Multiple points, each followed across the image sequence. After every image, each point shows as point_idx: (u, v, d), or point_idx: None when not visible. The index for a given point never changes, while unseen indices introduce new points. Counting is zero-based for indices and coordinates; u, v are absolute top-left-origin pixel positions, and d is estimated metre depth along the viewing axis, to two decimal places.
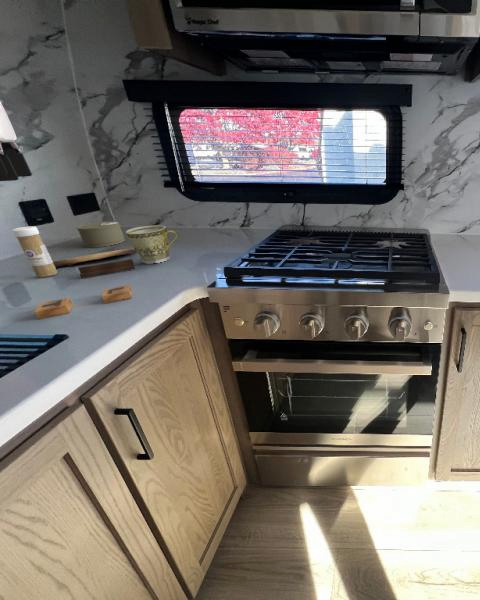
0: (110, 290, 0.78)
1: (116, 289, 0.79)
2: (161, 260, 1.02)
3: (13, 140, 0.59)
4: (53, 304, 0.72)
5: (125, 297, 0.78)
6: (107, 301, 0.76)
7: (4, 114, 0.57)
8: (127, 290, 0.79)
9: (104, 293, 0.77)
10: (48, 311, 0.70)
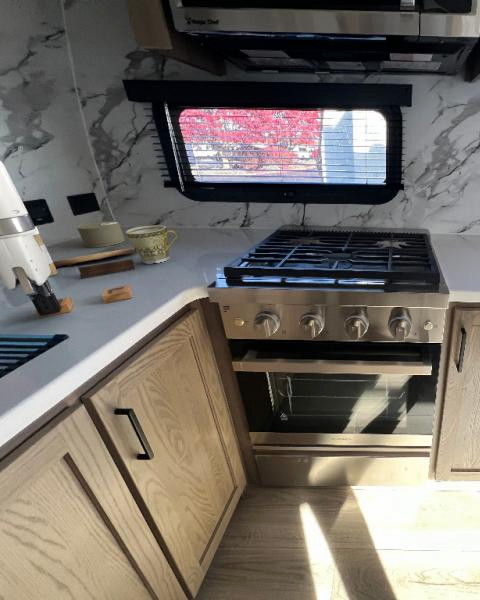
0: (110, 290, 0.78)
1: (116, 289, 0.79)
2: (161, 260, 1.02)
3: (48, 275, 0.69)
4: None
5: (125, 297, 0.78)
6: (107, 301, 0.76)
7: (42, 258, 0.67)
8: (127, 290, 0.79)
9: (104, 293, 0.77)
10: None
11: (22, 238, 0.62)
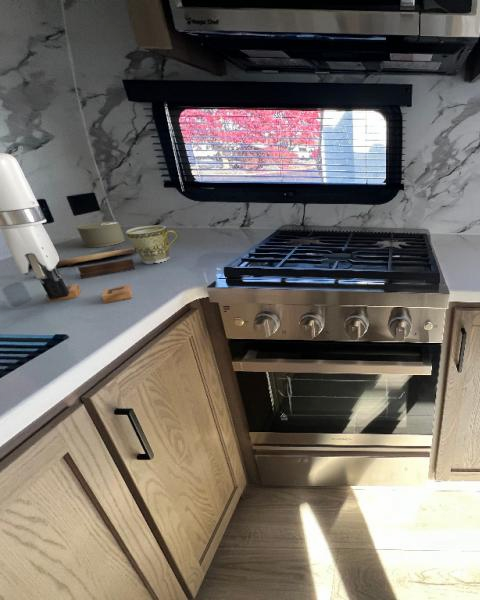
0: (110, 290, 0.78)
1: (116, 289, 0.79)
2: (161, 260, 1.02)
3: (57, 262, 0.76)
4: None
5: (125, 297, 0.78)
6: (107, 301, 0.76)
7: (51, 246, 0.74)
8: (127, 290, 0.79)
9: (104, 293, 0.77)
10: None
11: (34, 228, 0.69)
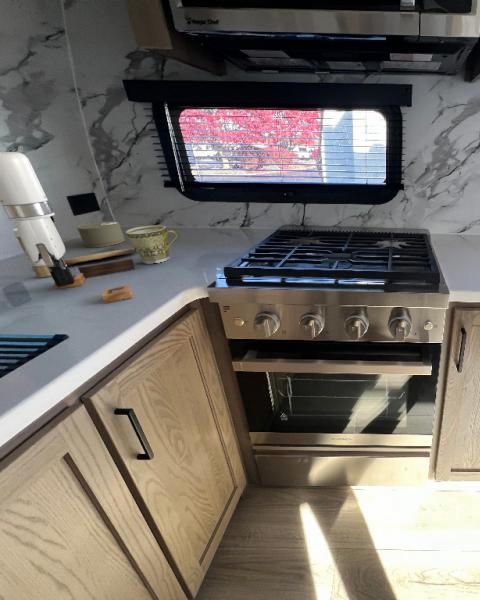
0: (110, 290, 0.78)
1: (116, 289, 0.79)
2: (161, 260, 1.02)
3: None
4: None
5: (125, 297, 0.78)
6: (107, 301, 0.76)
7: (58, 237, 0.81)
8: (127, 290, 0.79)
9: (104, 293, 0.77)
10: None
11: (44, 220, 0.76)
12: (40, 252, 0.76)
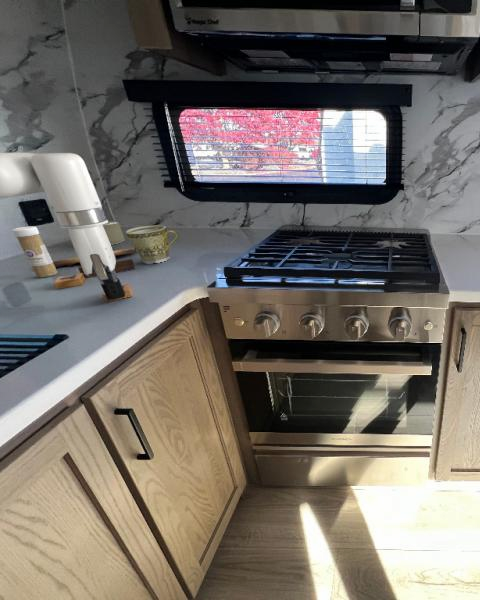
0: None
1: None
2: (161, 260, 1.02)
3: (115, 263, 0.76)
4: (69, 277, 0.86)
5: (125, 296, 0.79)
6: (107, 299, 0.77)
7: (111, 247, 0.74)
8: (127, 289, 0.79)
9: None
10: (65, 282, 0.85)
11: (98, 228, 0.68)
12: (94, 263, 0.69)
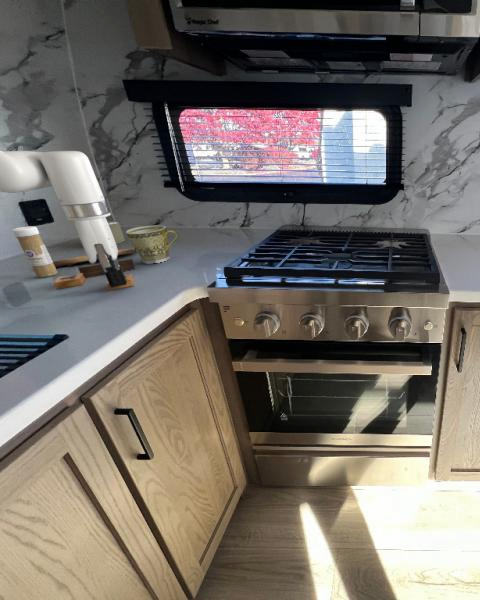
0: None
1: None
2: (161, 260, 1.02)
3: (117, 253, 0.82)
4: (69, 277, 0.86)
5: (127, 285, 0.85)
6: (111, 288, 0.83)
7: (113, 238, 0.80)
8: (129, 278, 0.85)
9: None
10: (65, 282, 0.85)
11: (102, 220, 0.75)
12: (98, 252, 0.75)
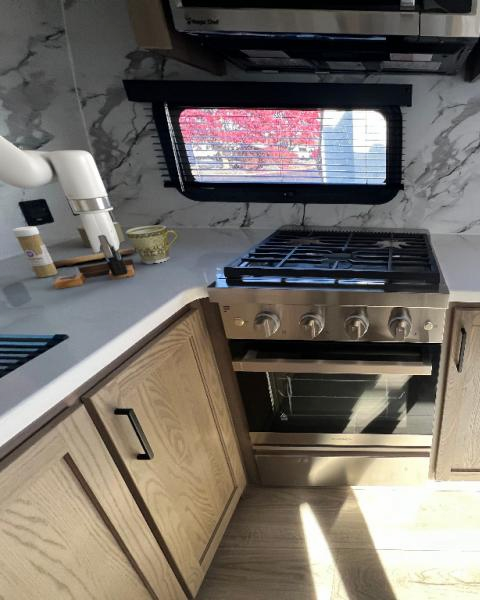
0: None
1: None
2: (161, 260, 1.02)
3: None
4: (69, 277, 0.86)
5: (128, 274, 0.91)
6: (113, 277, 0.90)
7: (115, 230, 0.87)
8: (130, 269, 0.92)
9: None
10: (65, 282, 0.85)
11: (105, 214, 0.81)
12: (101, 243, 0.82)
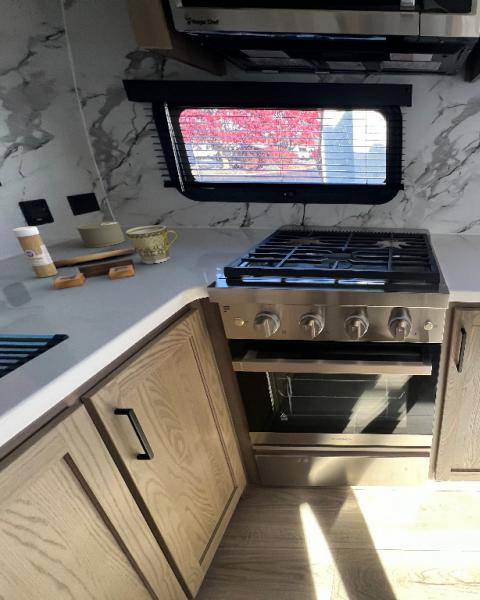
0: (116, 268, 0.92)
1: (121, 268, 0.92)
2: (161, 260, 1.02)
3: None
4: (69, 277, 0.86)
5: (128, 274, 0.92)
6: (113, 277, 0.90)
7: None
8: (130, 269, 0.92)
9: (111, 271, 0.91)
10: (65, 282, 0.85)
11: None
12: None
